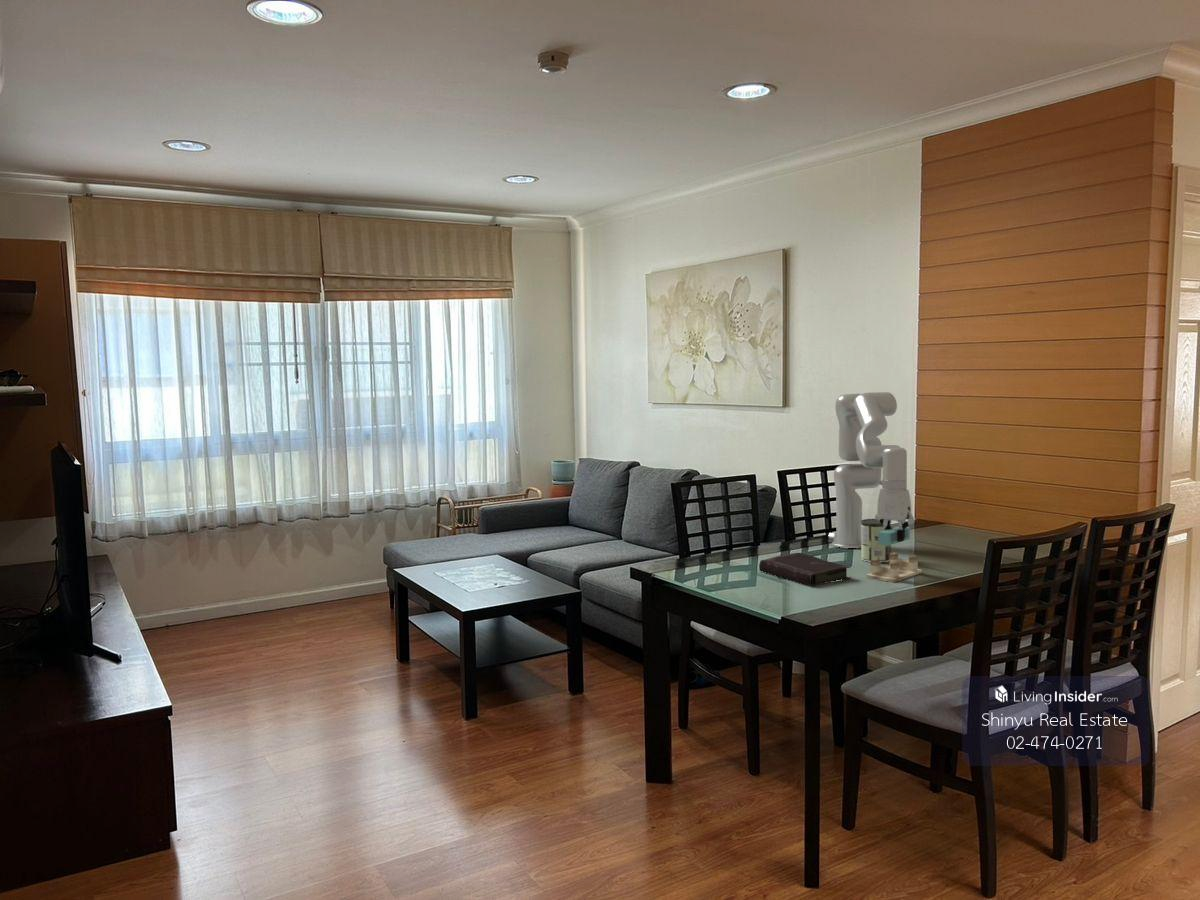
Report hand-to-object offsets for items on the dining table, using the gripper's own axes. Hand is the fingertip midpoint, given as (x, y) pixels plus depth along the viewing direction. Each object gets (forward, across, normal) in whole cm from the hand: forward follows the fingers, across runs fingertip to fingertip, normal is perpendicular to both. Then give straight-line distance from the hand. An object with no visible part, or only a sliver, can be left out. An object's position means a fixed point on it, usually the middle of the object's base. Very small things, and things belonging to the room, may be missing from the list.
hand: (894, 539), depth 283 cm
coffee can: (+12, -16, +16) cm, 26 cm away
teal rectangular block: (+1, 0, 0) cm, 1 cm away
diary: (+13, -22, -19) cm, 32 cm away
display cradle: (+12, 0, 0) cm, 12 cm away
